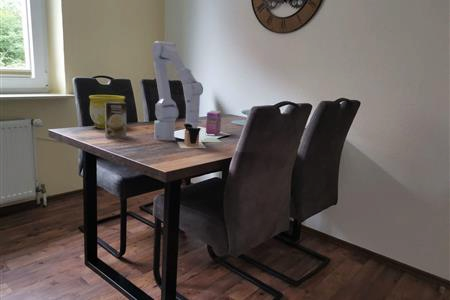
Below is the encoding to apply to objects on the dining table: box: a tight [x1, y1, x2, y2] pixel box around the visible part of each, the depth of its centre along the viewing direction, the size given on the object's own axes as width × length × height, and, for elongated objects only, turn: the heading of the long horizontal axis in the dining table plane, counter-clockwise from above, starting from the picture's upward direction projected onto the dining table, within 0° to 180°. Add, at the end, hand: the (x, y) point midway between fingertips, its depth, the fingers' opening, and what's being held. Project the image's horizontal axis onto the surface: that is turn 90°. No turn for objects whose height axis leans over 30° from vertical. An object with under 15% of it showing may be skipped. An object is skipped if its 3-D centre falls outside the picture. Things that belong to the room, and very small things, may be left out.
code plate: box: [177, 141, 207, 149], centre depth 150 cm, size 11×12×1 cm
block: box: [183, 129, 200, 146], centre depth 149 cm, size 6×6×6 cm
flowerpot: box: [88, 94, 126, 130], centre depth 181 cm, size 18×18×16 cm
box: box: [205, 110, 222, 136], centre depth 179 cm, size 10×6×12 cm, turn 168°
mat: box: [200, 137, 222, 143], centre depth 162 cm, size 9×9×1 cm
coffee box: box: [104, 101, 127, 139], centre depth 158 cm, size 9×6×16 cm
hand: (191, 141), depth 149 cm, fingers open, 7 cm apart
